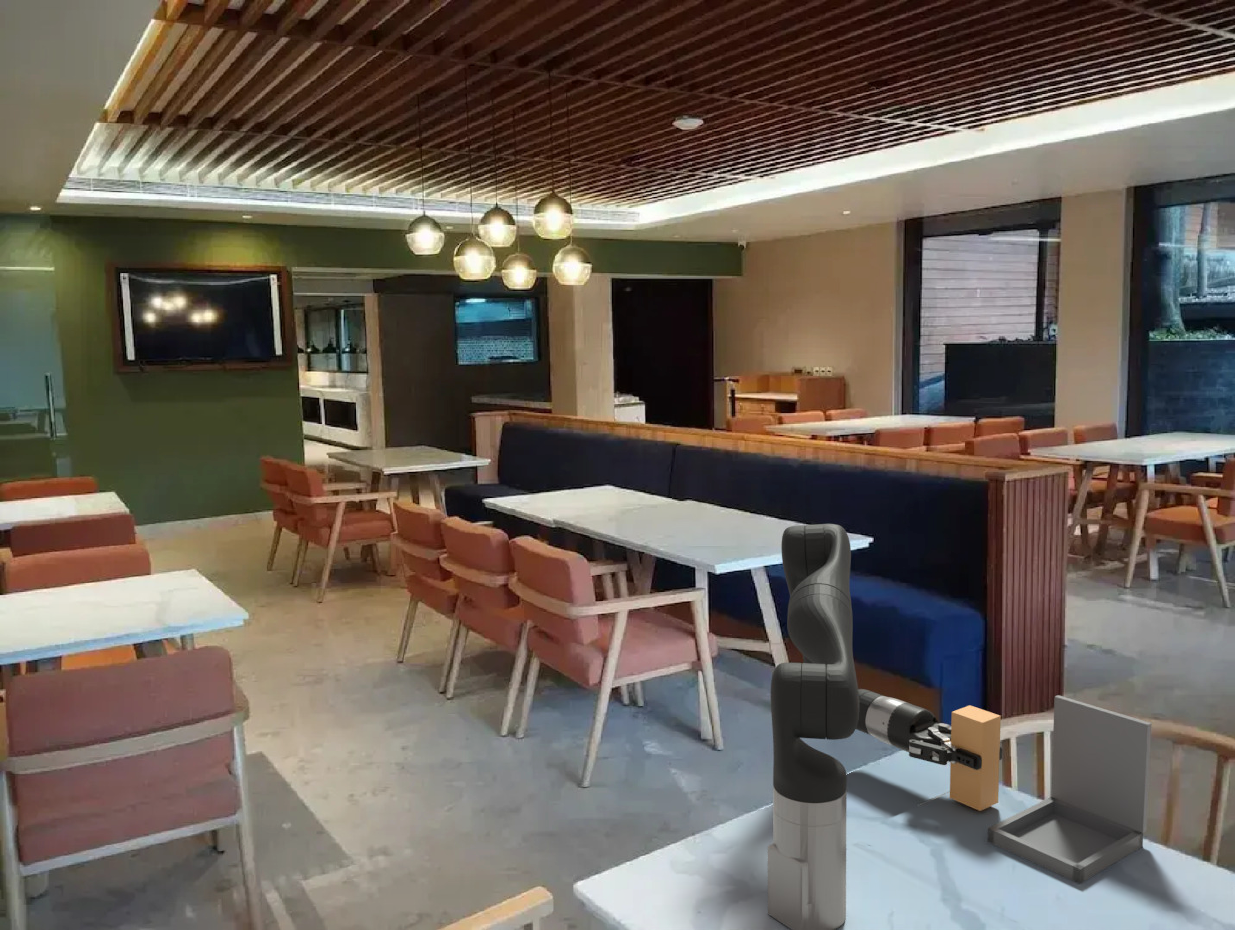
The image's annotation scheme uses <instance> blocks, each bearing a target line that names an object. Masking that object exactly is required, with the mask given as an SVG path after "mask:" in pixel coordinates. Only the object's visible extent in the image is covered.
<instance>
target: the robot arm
mask: <svg viewBox="0 0 1235 930" xmlns="http://www.w3.org/2000/svg"><path fill="white" fill-rule="evenodd" d="M780 546H781V560H782V567H783V571H784V577H785V582H786V584H787V587H788V592H789V593H788V594H789V601H788V604H787V620H786V623H787V624H786V628H787V633H788V636H789V638H790V640H791V642H792V643H793V645H794V647H796V649H797V650H798V651H799V652H800V653H801V654H802V661H803V662H802V663H801V662H782V663H779V664H777V666H775V668H774V670H773V672H772V675H771V682H770V713H771V726H772V727H771V729H772V741H773V742H772V745H773V749H772V750H773V767H772V768H773V770H772V771H773V772H772V785H773V786H772V787H773V788H772V799H773V801H772V808H773V809H772V815H773V816H772V819H773V820H772V821H773V822H772V823H773V824H772V827H773V828H772V829H773V830H772V831H773V834H772V836H773V837H772V838H773V839H772V841H773V842H772V843H770V844H768V846H767V914H768V915H769V916H771V917H772V918H773V919H775V920H777V921H778V922H779V923H781V924H783V926H786V927H787V928H789V929H790V930H836V929H838V928H840V927H841V926H842V925H843V924H844V922H845V921H846V917H847V799H848V798H847V790H848V789H847V788H848V787H847V786H848V784H847V782H848V781H847V780H848V778H847V776H848V775H847V772H846V768H845V766H844V765H843V764H842V762H840V760H838V759H837V758H835V757H834V756H832V755H830V754H827V753H825V752H823V751H822V750H821V751H820V750H818V749H816V748H814V747H812V746H811V745H809V744H808V743H806V742H805V741H804V740H802V739H815V740H830V741H831V740H833V741H834V740H835V741H836V740H837V741H838V740H843V739H848V738H850V737H851V736H852V735H853V734H854V733H855V731H856V730H857V731H860V732H862V733H864V734H866V735H870V736H872V737H874V738H876V739H877V740H878V741H880V742H882V743H885V744H887V745H890V746H892V747H894V748H897V749H900V750H901V751H905V752H907V753H908V756H909V757H911V758H913V759H917V760H922V761H925V762H929V763H932V764H933V763H934V764H937V765H941V766H946V765H947V764H948V762H949V763H960V764H963V765H965V766H968V767H970V768H973V769H975V770H979V769H981V767H982V758H981V756H980V755H978V754H975V753H973V752H970V751H968V750H965V749H962V748H959V749H958V747H957V746H956V745H954V744H951V724H948V723H942V722H941V723H940V722H939V721H938V720H937V718H936V716H935V714H933V712H932V711H931V710H929V709H926V708H924V707H921V706H918V705H914V704H913V703H910V702H906V701H904V700H901V699H898V698H894V697H890V696H885V695H883V694H880V693H877V692H875V691H872V690H868V689H865V688H859V685H858V680H857V679H858V678H857V673H856V666H855V662H854V654H853V653H854V652H853V633H854V632H853V624H854V623H853V621H854V620H853V607H852V599H851V591H850V577H851V576H850V575H851V565H852V564H851V561H852V560H851V559H852V550H851V543H850V537H849V535H848V533H847V531H846V529H845V528H844V527H843V526H841V525H840V524H835V523H822V524H821V523H820V524H819V523H818V524H806V525H805V524H802V525H791V526H788V527H786V528H785V529H784V530H783V533H782V536H781V545H780ZM1002 760H1003V748H1002V747H1001V746H1000V751H999V762H1001V761H1002Z"/></svg>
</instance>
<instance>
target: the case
mask: <svg viewBox="0 0 1235 930" xmlns="http://www.w3.org/2000/svg"><path fill="white" fill-rule="evenodd" d="M1053 698H1054V700H1053V701H1054V702H1053V703H1054V704H1053V731H1052V732H1053V733H1052V735H1053V736H1052V759H1051V760H1052V761H1051V762H1052V763H1051V765H1052V766H1051V768H1052V769H1051V794H1050V795H1051V796H1050V797H1048V798H1046V799H1044V800H1042V801H1040V802H1039V803H1036V804H1034V805H1033V806H1032V805H1031V806H1030V807H1028V808H1025V809H1024V810H1022V811H1020V812H1018V813H1016V814H1014V815H1012V816H1009V817H1008V818H1006V819H1004V820H1001V821H1000V822H998V823H995V824H994V825H991V826H989V827H988V828H987V843H990V844H992V845H994V846H996V847H998V848H1001V849H1003V850H1005V851H1007V852H1009V853H1011V854H1014V855H1016V856H1018V857H1021V858H1022V859H1025V860H1027V861H1030V862H1031V863H1034V864H1035V865H1038V866H1040V867H1042V868H1043V869H1044V868H1045V869H1046V870H1049V871H1051V872H1053V873H1055V874H1058V875H1060V876H1062V877H1064V878H1066V879H1069V880H1071V881H1073V882H1075V883H1077V884H1083V882H1085V881H1086V880H1088V879H1091V878H1092V877H1093V876H1095V875H1097V874H1099V873H1101V872H1102V871H1104V870H1106V869H1107V868H1109V867H1110V866H1112V865H1113V864H1116V863H1117V862H1118V861H1121V860H1122V859H1124V858H1126V857H1128V856H1129V855H1131V854H1133V853H1134V852H1136V851H1137V850H1139V849H1141V848H1142V847H1144V833H1146V832H1147V831H1148V830H1147V829H1148V810H1149V809H1148V808H1149V807H1148V806H1149V805H1148V804H1149V786H1150V785H1149V784H1150V783H1149V782H1150V768H1151V767H1150V766H1151V765H1150V763H1151V742H1152V741H1151V740H1152V723H1153V722H1149V721H1146V720H1142V719H1140V718H1136V717H1132V716H1129V715H1126V714H1122V713H1119V712H1116V711H1112V710H1109V709H1105V708H1102V707H1098V706H1097V705H1096V706H1095V705H1093V704H1089V703H1085V702H1083V701H1080V700H1079V701H1078V700H1076V699H1073V698H1069V697H1066V696H1063V695H1060V694H1058V695H1055V696H1054V697H1053Z"/></svg>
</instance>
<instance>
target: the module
mask: <svg viewBox="0 0 1235 930" xmlns="http://www.w3.org/2000/svg"><path fill="white" fill-rule="evenodd" d="M1001 719H1002V715H999V714H996V713H993V712H991V711H988V710H985V709H982V708H979V707H976V706H973V705H966V706H965V707H964V706H963V707H961V708H958V709H956V710H954V711H951V720H950V721H951V722H950V726H951V744H954V745H956V746H957V747H958V749H959V748H962V749H965V750H968V751H970V752H973V753H975V754H978V755H980V756H981V758H982V767H981V769H979V770H975V769H973V768H970V767H968V766H965V765H963V764H960V763H951V762H949V763H950V764H949V769H950V770H949V772H950V773H949V775H950V776H949V791H950V792H949V798H950V799H951V800H954V801H956V802H958V803H961V804H963V805H965V806H967V807H970V808H972V809H975V810H977V811H980V812H981V811H984V810H985V809H987V808H990V807H993V806H994V805H996V804H998V803H999V791H1000V789H999V788H1000V786H999V785H1000V784H999V783H1000V761H999V751H1000V747H1001Z"/></svg>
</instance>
